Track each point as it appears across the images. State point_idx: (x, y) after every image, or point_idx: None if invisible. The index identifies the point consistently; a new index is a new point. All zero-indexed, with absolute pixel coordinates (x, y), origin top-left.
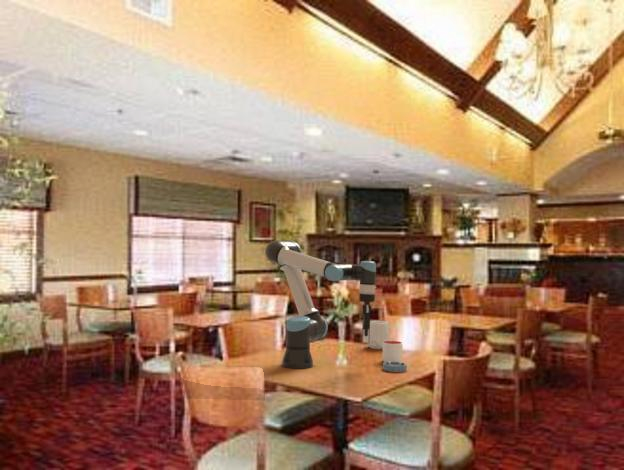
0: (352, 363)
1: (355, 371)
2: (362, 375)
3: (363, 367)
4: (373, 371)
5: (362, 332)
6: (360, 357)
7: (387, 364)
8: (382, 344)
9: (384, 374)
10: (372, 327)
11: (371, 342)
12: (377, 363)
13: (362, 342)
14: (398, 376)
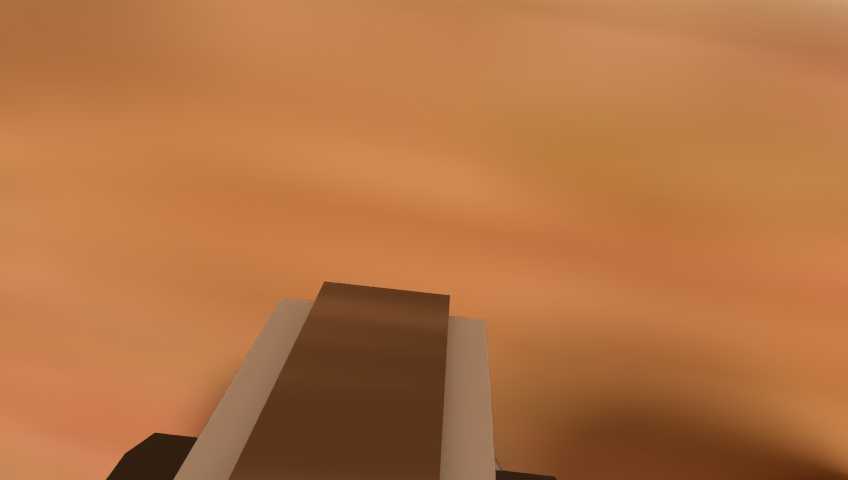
0: (791, 79)
1: (253, 38)
2: (30, 93)
3: (508, 189)
4: (276, 267)
5: (302, 454)
6: None
7: None
8: None
9: (133, 354)
10: None
11: None
12: (742, 401)
13: (323, 293)
14: (63, 464)
